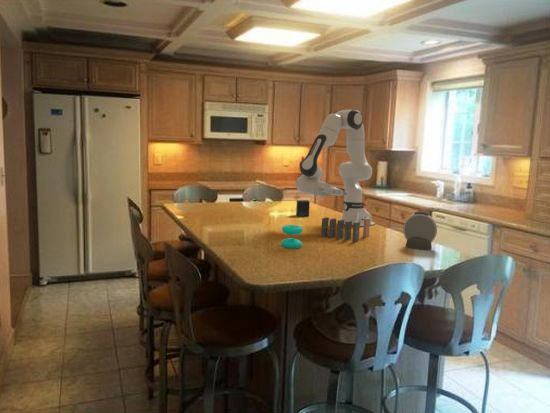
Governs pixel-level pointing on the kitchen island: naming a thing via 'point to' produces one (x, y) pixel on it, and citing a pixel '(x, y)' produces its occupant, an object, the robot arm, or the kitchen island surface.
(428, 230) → the alarm clock
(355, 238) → the domino
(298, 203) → the box
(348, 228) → the domino
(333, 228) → the domino
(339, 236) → the domino
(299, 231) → the donuts
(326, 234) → the domino
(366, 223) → the domino
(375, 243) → the kitchen island surface
